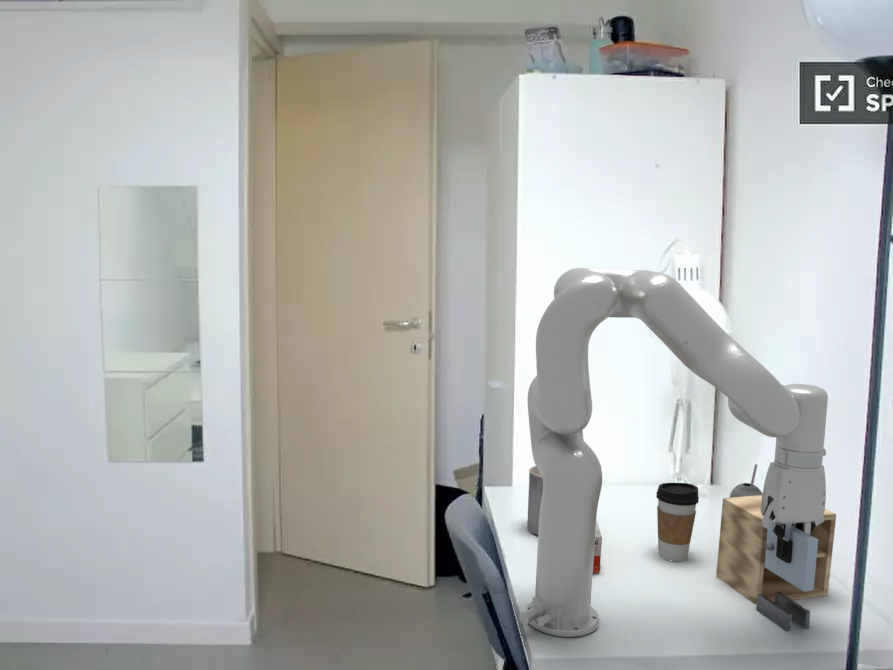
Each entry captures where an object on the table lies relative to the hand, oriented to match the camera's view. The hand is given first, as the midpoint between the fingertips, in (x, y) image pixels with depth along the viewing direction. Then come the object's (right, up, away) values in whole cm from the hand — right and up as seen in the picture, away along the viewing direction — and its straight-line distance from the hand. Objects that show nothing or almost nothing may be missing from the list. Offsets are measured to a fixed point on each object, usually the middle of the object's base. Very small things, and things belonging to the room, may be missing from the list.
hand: (789, 558), depth 142 cm
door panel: (0, -4, 0) cm, 4 cm away
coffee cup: (-13, -7, +27) cm, 31 cm away
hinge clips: (-1, -11, +1) cm, 11 cm away
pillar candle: (-37, -5, +39) cm, 54 cm away
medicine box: (-33, -7, +25) cm, 42 cm away
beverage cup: (+2, -7, +29) cm, 30 cm away
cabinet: (+3, -9, +15) cm, 18 cm away
